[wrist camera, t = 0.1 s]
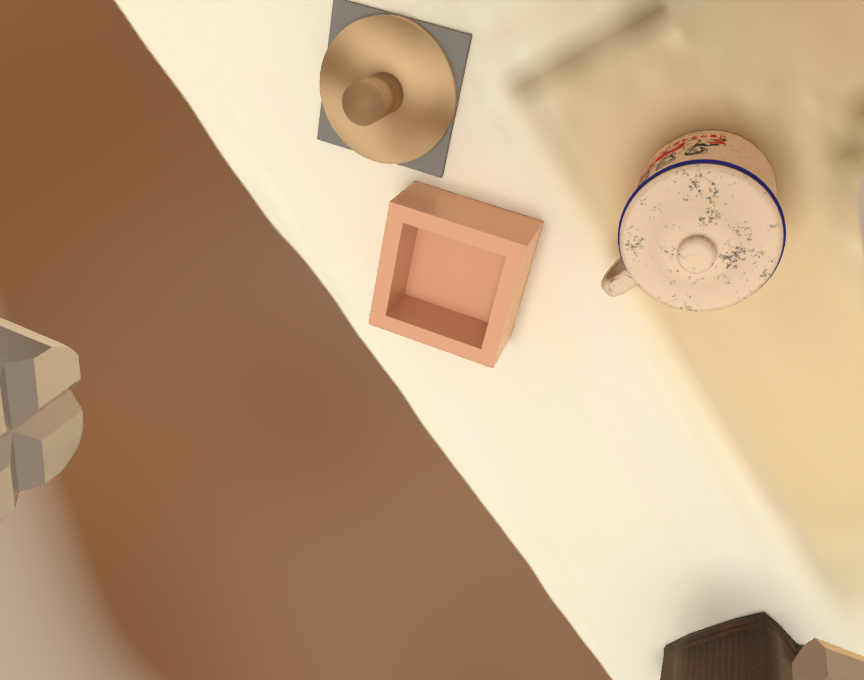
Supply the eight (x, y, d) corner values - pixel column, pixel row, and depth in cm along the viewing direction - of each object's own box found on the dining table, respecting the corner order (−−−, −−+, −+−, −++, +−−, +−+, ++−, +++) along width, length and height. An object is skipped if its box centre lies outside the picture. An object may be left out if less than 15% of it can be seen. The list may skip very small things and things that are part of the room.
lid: (333, -2, 55) (301, 5, 51) (470, 35, 53) (447, 45, 49) (317, 138, 60) (286, 155, 56) (440, 177, 58) (418, 197, 54)
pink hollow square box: (414, 181, 59) (389, 201, 55) (543, 221, 57) (527, 246, 53) (392, 297, 64) (368, 323, 60) (510, 337, 62) (493, 368, 58)
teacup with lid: (722, 94, 50) (715, 139, 40) (811, 204, 51) (825, 274, 41) (574, 210, 56) (538, 273, 46) (656, 305, 57) (638, 386, 48)
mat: (336, -3, 55) (333, -2, 54) (472, 34, 53) (470, 35, 53) (319, 137, 60) (317, 139, 60) (442, 176, 58) (440, 177, 58)
